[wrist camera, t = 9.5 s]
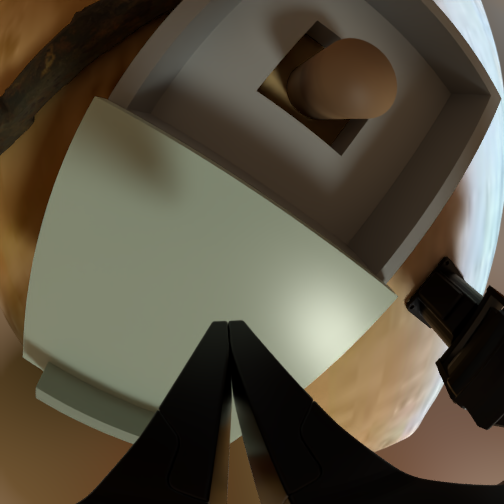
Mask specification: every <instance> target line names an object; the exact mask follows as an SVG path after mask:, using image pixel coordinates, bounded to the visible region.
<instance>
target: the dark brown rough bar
mask: <svg viewBox="0 0 504 504" xmlns="http://www.w3.org/2000/svg"><path fill="white" fill-rule="evenodd" d="M182 1H183V0H100V1H98V2H96V3H94V4H92V5H90V6H88V7H85V8H84V9H83V10H82V11H80V12H76V13H75V15H74V17H73V19H72V21H71V23H70V24H69V25H67V26H66V27H65V28H63V29H62V31H61V32H60V33H59V34H57V35H56V36H55V37H54V38H53V39H52V40H51V41H50V42H49V43H48V44H47V45H46V46H45V47H44V48H43V49H42V50H41V51H40V52H39V53H38V54H37V55H36V56H35V57H34V58H33V59H32V60H31V61H30V63H29V64H28V65H27V66H26V67H25V68H24V70H23V71H22V72H21V73H20V74H19V76H18V77H17V78H16V79H15V80H14V82H13V83H12V84H11V85H10V87H9V88H7V89H6V90H5V93H4V94H3V95H2V96H1V97H0V155H1V154H2V153H3V152H4V151H6V150H7V149H8V148H9V147H10V146H11V145H12V144H13V143H14V142H15V140H17V139H18V138H19V137H20V136H21V135H22V134H23V133H24V132H25V131H26V130H28V129H29V128H30V126H31V125H32V124H33V122H34V115H35V114H36V113H37V112H38V111H39V110H40V108H41V107H42V106H43V105H44V104H45V103H46V102H47V101H48V100H49V99H50V98H52V97H53V96H54V95H55V94H56V93H57V92H58V91H59V90H60V89H61V88H62V87H63V86H64V85H66V84H67V83H68V82H70V81H71V80H72V79H73V78H74V77H75V76H76V75H77V74H78V73H79V72H80V71H81V70H82V69H83V68H84V67H85V66H87V65H88V64H89V63H90V62H92V61H93V60H94V59H95V58H97V57H98V56H99V55H101V54H102V53H104V52H105V51H107V50H108V49H110V48H111V47H112V46H113V45H115V44H117V43H118V42H120V41H122V40H123V39H124V38H125V37H127V36H128V35H129V34H130V33H132V32H133V31H135V30H136V29H138V28H139V27H141V26H142V25H144V24H146V23H147V22H149V21H150V20H152V19H153V18H155V17H157V16H158V15H160V14H162V13H164V12H166V11H169V10H171V9H175V8H176V7H177V6H178V5H179V4H180V3H181V2H182Z"/></svg>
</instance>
